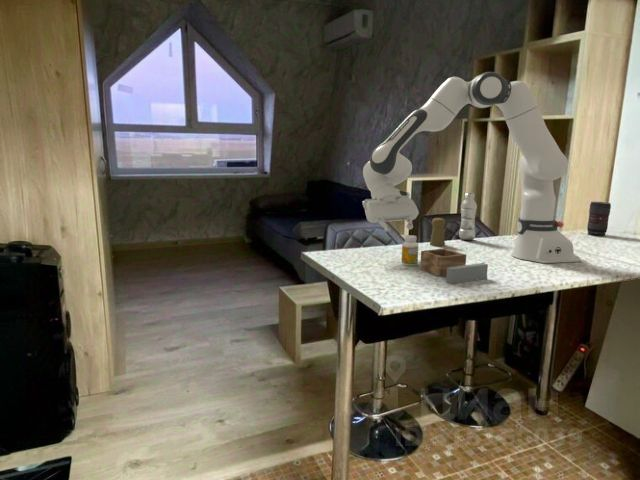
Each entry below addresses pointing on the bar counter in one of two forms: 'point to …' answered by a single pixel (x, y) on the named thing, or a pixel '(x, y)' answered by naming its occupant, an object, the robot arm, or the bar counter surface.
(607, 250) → the bar counter surface
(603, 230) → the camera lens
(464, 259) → the walnut socket block
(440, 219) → the cork
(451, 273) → the slate wall
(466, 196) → the plastic bottle
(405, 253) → the supplement bottle
